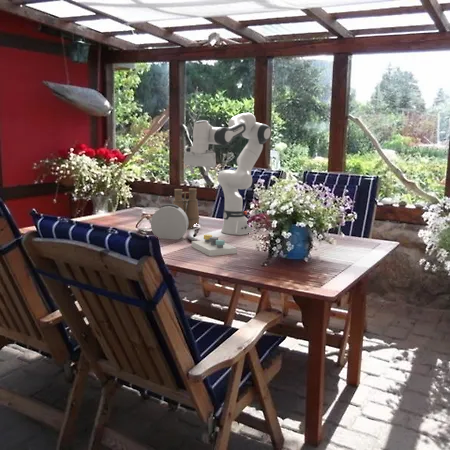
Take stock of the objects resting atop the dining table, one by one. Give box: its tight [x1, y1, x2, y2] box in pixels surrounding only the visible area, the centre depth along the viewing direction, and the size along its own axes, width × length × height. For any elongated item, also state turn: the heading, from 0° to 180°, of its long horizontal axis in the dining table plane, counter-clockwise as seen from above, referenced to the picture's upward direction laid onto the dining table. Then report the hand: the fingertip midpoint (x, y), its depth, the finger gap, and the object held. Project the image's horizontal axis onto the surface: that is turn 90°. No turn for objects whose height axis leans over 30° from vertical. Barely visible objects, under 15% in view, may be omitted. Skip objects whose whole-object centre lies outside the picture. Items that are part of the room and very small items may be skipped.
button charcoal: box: [209, 236, 219, 245], centre depth 285 cm, size 5×5×5 cm
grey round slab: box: [150, 203, 189, 240], centre depth 310 cm, size 21×8×20 cm, turn 84°
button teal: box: [216, 239, 226, 248], centre depth 279 cm, size 5×5×5 cm
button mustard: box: [203, 233, 213, 242], centre depth 291 cm, size 5×5×5 cm
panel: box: [191, 239, 238, 257], centre depth 285 cm, size 16×22×3 cm
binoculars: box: [172, 187, 201, 229], centre depth 341 cm, size 21×10×25 cm, turn 125°
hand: (199, 174), depth 298 cm, fingers open, 8 cm apart
